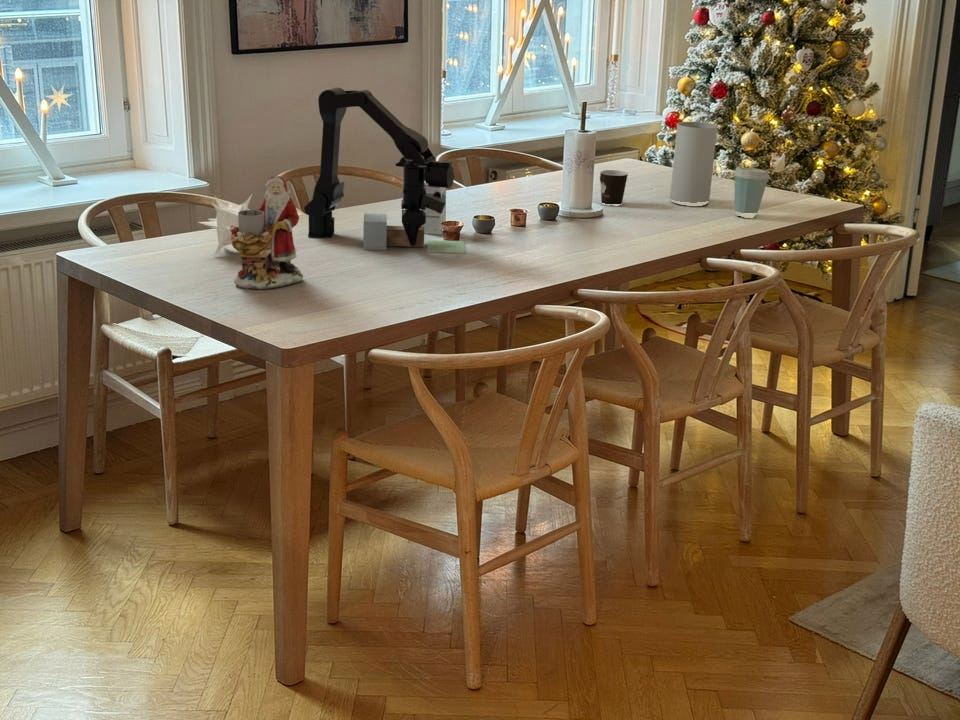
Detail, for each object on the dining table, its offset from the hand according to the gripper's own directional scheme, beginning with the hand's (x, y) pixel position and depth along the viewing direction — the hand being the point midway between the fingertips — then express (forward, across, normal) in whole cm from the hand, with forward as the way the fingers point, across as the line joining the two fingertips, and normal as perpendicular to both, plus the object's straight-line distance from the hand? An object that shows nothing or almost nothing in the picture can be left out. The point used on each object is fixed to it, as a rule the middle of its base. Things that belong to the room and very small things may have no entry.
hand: (412, 241), depth 315 cm
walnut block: (+1, 0, +5) cm, 5 cm away
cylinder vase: (+1, +61, -90) cm, 109 cm away
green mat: (+1, 0, -9) cm, 9 cm away
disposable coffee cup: (+1, +44, -104) cm, 113 cm away
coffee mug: (+1, +58, -64) cm, 86 cm away
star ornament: (+2, -9, +46) cm, 47 cm away
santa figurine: (+2, -35, +35) cm, 50 cm away
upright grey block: (+1, 0, +10) cm, 10 cm away
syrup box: (+1, +16, -6) cm, 17 cm away
